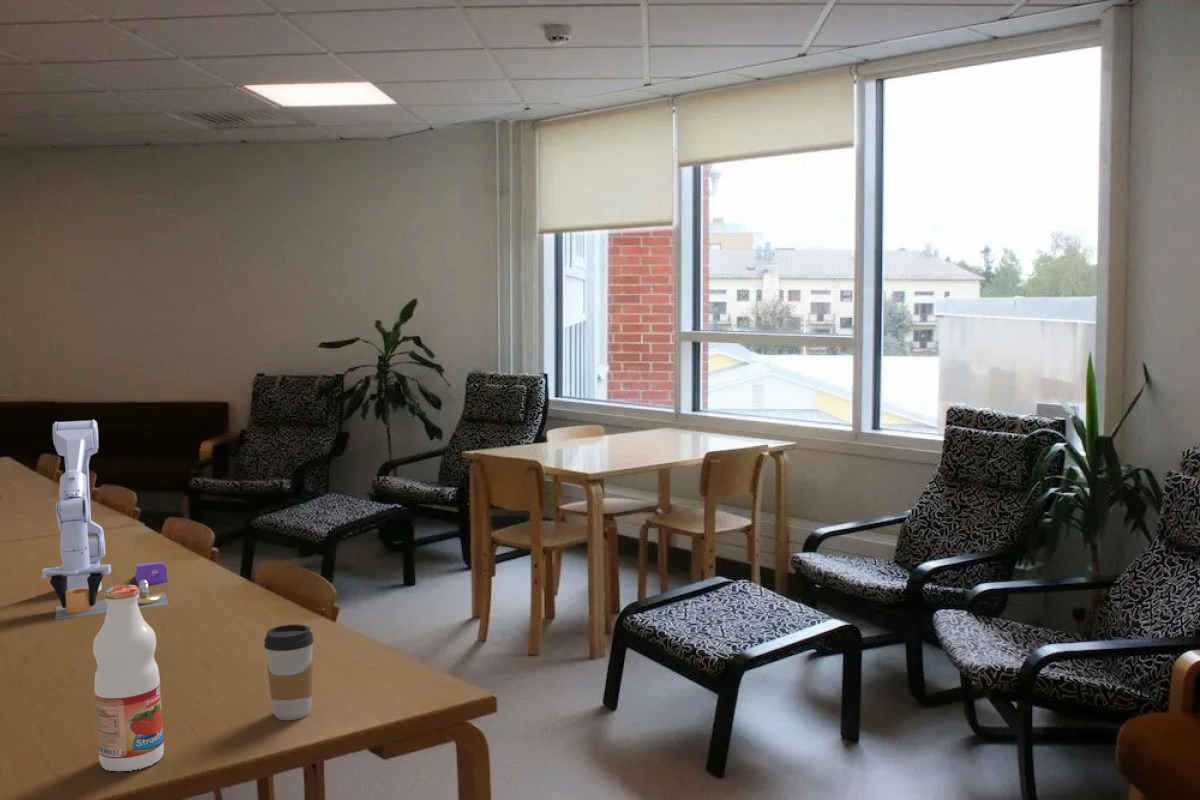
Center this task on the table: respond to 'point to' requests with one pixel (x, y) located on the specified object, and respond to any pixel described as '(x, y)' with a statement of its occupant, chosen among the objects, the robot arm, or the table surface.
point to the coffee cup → (290, 670)
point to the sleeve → (77, 600)
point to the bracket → (146, 573)
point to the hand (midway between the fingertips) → (79, 605)
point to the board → (102, 608)
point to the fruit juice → (127, 686)
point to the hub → (146, 594)
